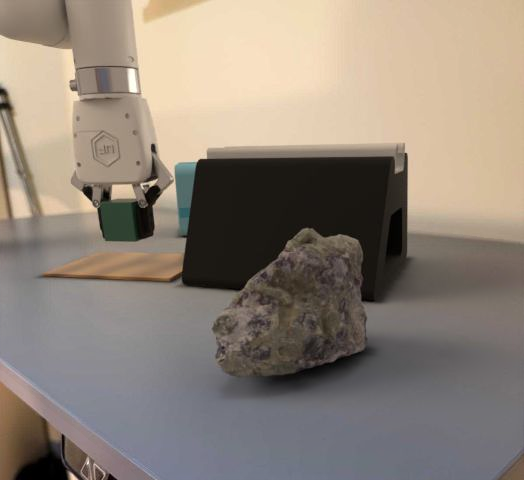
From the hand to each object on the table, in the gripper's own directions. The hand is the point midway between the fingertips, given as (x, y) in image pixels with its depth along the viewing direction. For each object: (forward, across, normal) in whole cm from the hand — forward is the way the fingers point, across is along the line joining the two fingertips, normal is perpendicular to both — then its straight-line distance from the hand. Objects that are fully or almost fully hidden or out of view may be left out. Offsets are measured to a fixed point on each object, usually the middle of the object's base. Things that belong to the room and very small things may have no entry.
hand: (128, 235), depth 73 cm
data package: (+4, -2, +28) cm, 28 cm away
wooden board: (+4, 0, 0) cm, 4 cm away
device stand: (+5, +24, +1) cm, 24 cm away
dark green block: (0, 0, 0) cm, 0 cm away
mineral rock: (+5, +29, -28) cm, 40 cm away
